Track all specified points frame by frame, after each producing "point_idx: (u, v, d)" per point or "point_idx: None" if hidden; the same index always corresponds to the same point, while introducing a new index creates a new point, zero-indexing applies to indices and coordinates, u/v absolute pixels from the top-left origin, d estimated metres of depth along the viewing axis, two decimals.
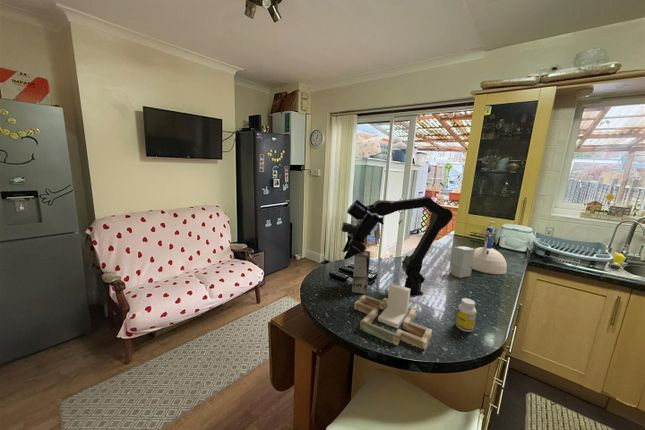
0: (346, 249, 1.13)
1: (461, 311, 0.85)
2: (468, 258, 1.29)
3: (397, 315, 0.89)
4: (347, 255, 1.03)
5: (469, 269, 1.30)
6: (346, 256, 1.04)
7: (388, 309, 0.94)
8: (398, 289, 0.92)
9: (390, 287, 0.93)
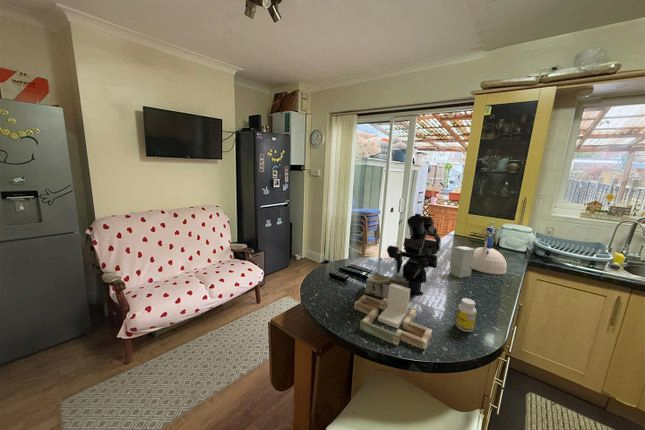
0: (399, 269, 1.00)
1: (461, 311, 0.85)
2: (468, 258, 1.29)
3: (397, 315, 0.89)
4: (416, 272, 0.96)
5: (469, 269, 1.30)
6: (415, 274, 0.96)
7: (388, 309, 0.94)
8: (398, 289, 0.92)
9: (390, 287, 0.93)
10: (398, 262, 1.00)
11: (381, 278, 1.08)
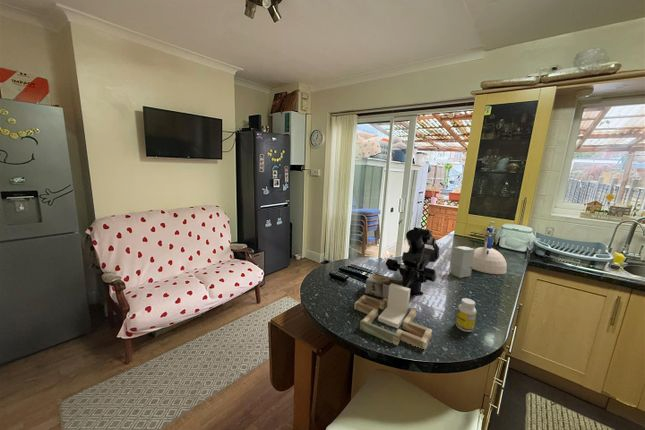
0: None
1: (461, 311, 0.85)
2: (468, 258, 1.29)
3: (397, 315, 0.89)
4: (408, 284, 0.98)
5: (469, 269, 1.30)
6: (407, 285, 0.98)
7: (388, 309, 0.94)
8: (398, 289, 0.92)
9: (390, 287, 0.93)
10: (404, 277, 0.99)
11: (381, 278, 1.08)
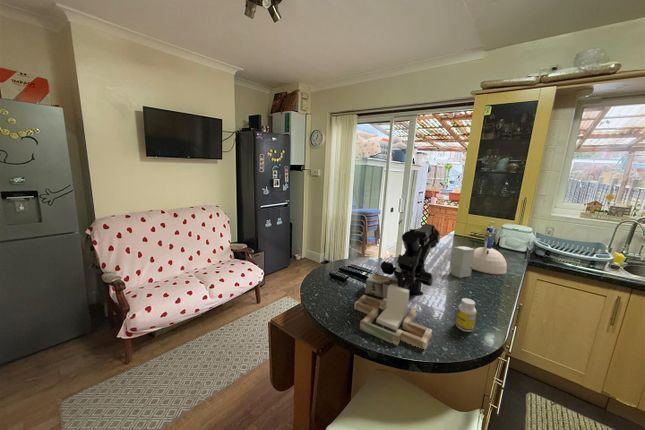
0: None
1: (461, 311, 0.85)
2: (468, 258, 1.29)
3: (396, 317, 0.88)
4: None
5: (469, 269, 1.30)
6: None
7: (386, 310, 0.92)
8: (397, 290, 0.91)
9: (389, 288, 0.92)
10: (399, 281, 0.95)
11: (381, 278, 1.08)
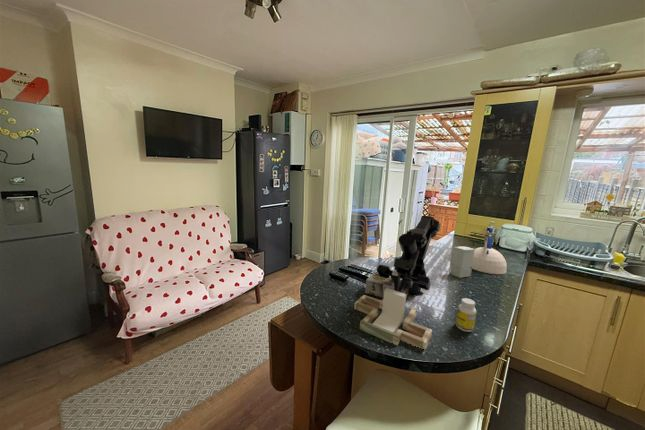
0: None
1: (461, 311, 0.85)
2: (468, 258, 1.29)
3: (392, 322, 0.85)
4: None
5: (469, 269, 1.30)
6: None
7: (383, 315, 0.89)
8: (393, 294, 0.88)
9: (385, 292, 0.89)
10: (396, 285, 0.92)
11: (381, 278, 1.08)
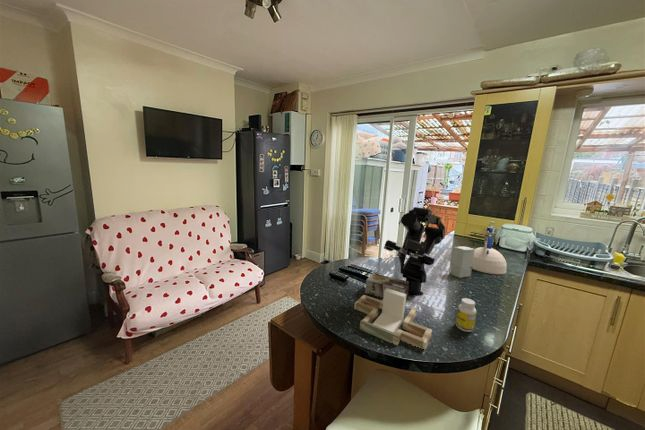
0: None
1: (461, 311, 0.85)
2: (468, 258, 1.29)
3: (392, 322, 0.85)
4: (405, 269, 0.98)
5: (469, 269, 1.30)
6: (404, 270, 0.98)
7: (383, 315, 0.89)
8: (393, 294, 0.88)
9: (385, 292, 0.89)
10: (402, 262, 0.98)
11: (381, 278, 1.08)
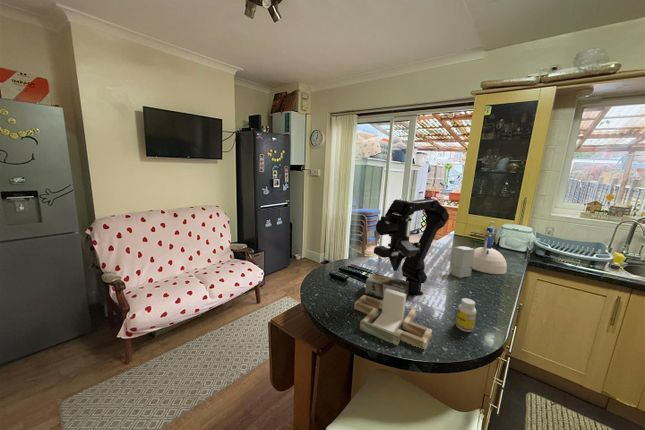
0: None
1: (461, 311, 0.85)
2: (468, 258, 1.29)
3: (392, 322, 0.85)
4: None
5: (469, 269, 1.30)
6: None
7: (383, 315, 0.89)
8: (393, 294, 0.88)
9: (385, 292, 0.89)
10: (396, 262, 0.99)
11: (381, 278, 1.08)
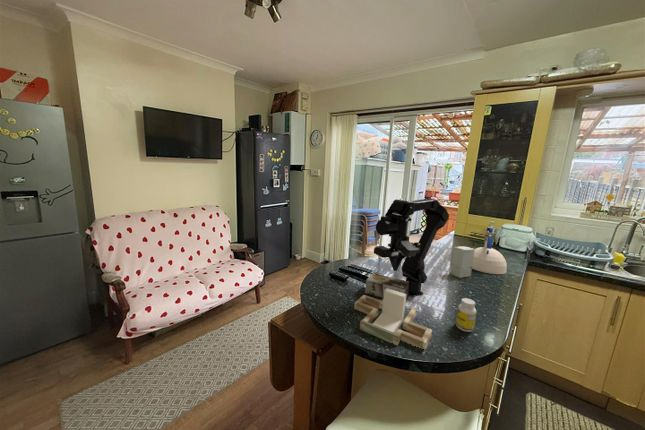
0: None
1: (461, 311, 0.85)
2: (468, 258, 1.29)
3: (392, 322, 0.85)
4: None
5: (469, 269, 1.30)
6: None
7: (383, 315, 0.89)
8: (393, 294, 0.88)
9: (385, 292, 0.89)
10: (396, 262, 0.99)
11: (381, 278, 1.08)
